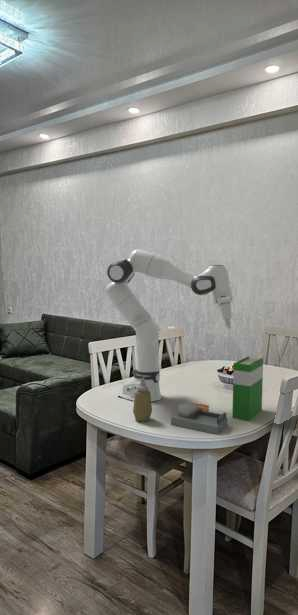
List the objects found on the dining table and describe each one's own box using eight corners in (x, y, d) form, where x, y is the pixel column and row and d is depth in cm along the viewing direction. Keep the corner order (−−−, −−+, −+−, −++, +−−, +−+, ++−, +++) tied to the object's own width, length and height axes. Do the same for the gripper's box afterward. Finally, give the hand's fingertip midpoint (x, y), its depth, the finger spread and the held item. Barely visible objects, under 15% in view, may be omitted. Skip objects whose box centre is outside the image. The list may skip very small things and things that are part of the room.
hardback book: (246, 407, 189) (247, 356, 187) (261, 409, 185) (263, 358, 183) (232, 417, 174) (233, 363, 173) (249, 421, 170) (250, 365, 169)
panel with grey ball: (170, 424, 166) (171, 407, 165) (183, 416, 176) (183, 400, 175) (216, 434, 155) (217, 416, 155) (227, 424, 166) (227, 408, 165)
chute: (187, 413, 180) (187, 405, 179) (192, 410, 184) (192, 402, 184) (204, 417, 176) (204, 408, 175) (208, 413, 180) (208, 404, 180)
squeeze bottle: (151, 416, 175) (152, 375, 174) (152, 422, 167) (152, 380, 166) (133, 416, 175) (133, 375, 174) (132, 423, 167) (133, 380, 166)
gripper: (215, 299, 200) (220, 326, 201) (217, 300, 180) (222, 330, 180) (228, 296, 199) (233, 324, 200) (231, 297, 179) (236, 328, 179)
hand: (228, 327), depth 190 cm, fingers open, 8 cm apart
